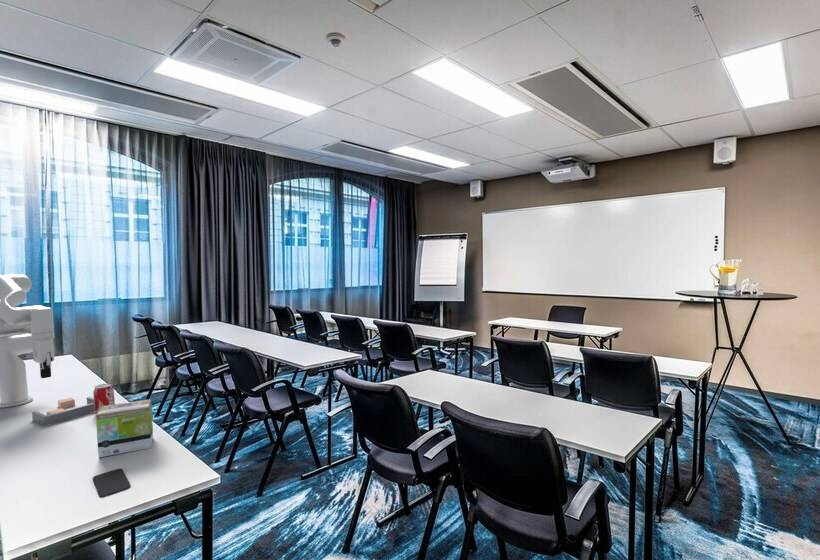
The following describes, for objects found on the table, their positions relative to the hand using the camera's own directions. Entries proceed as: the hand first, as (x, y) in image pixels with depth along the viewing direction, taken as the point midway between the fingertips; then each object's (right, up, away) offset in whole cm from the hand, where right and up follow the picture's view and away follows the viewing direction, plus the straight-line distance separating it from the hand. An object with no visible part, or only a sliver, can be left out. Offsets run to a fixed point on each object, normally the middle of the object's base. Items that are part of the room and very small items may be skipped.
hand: (46, 377), depth 185 cm
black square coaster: (+72, -17, -62) cm, 96 cm away
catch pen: (+14, -15, -5) cm, 21 cm away
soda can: (+29, -14, -5) cm, 33 cm away
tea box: (+61, -16, -39) cm, 74 cm away
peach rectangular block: (+4, -15, +6) cm, 16 cm away
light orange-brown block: (+12, -15, -8) cm, 21 cm away
